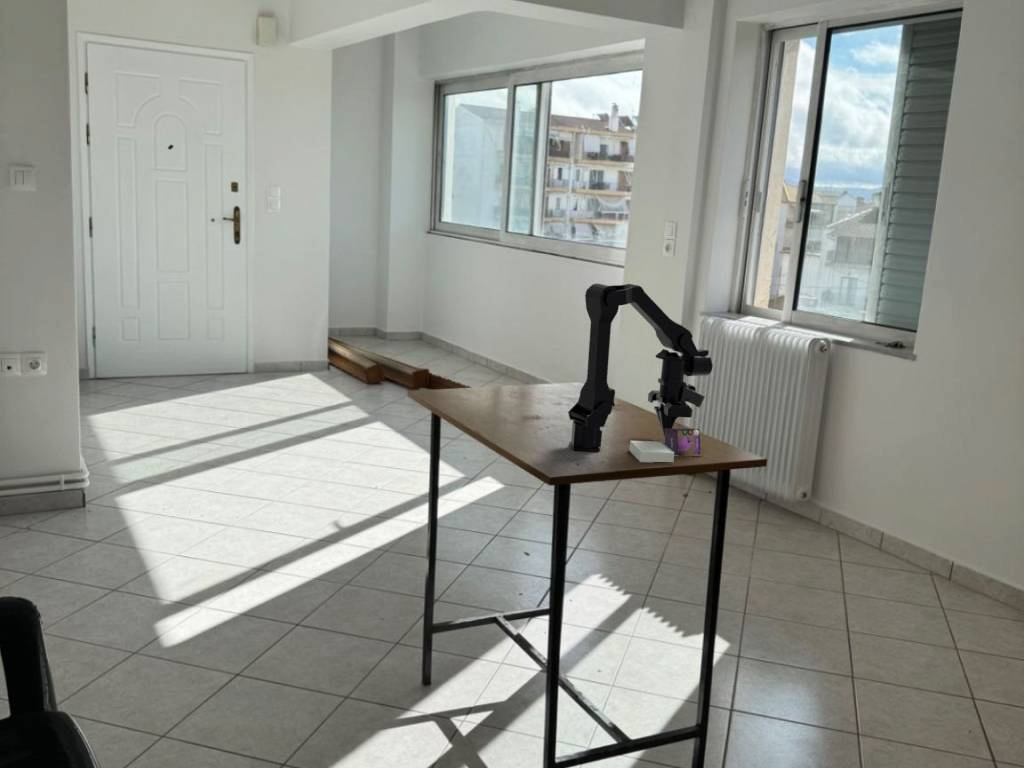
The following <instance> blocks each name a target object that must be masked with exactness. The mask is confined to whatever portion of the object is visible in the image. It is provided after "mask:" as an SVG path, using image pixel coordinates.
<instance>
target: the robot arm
mask: <svg viewBox="0 0 1024 768" xmlns="http://www.w3.org/2000/svg"><path fill="white" fill-rule="evenodd" d="M584 296H585V297H584V298H585V309H586V312H587V314H588V317H589V320H590V329H589V342H588V343H589V344H588V357H587V358H588V360H587V371H586V372H587V373H586V380H585V382H584V384H583V385H582V387H581V389H580V392H579V397H578V400H577V402H576V403H575V404H574V405H573V406H572V407H571V408H570V410H569V411H568V413H567V414H568V418H569V420H570V421H572V426H571V427H572V430H571V440H570V441H569V442H568V443H569V445H570V447H571V448H572V450H573V451H583V452H584V451H585V452H601V449H600V448H601V447H602V437H603V431H602V430H601V428H604V427H605V424H606V423H607V419H608V417H609V415H611V414H612V411H613V407H615V406H616V405H615V398H616V397H615V395H616V389H613V388H612V387H610V386H609V383H608V371H609V359H610V358H609V357H610V347H611V346H610V343H611V342H610V341H611V332H612V331H611V330H612V323H613V321H614V320H615V317H616V316H617V314H618V312H619V308H620V306H624V305H629V304H630V305H631V306H632V307H633V309H635V310H636V312H638V314H639V315H640V316H642V318H643V319H644V320H646V321H645V322H647V323H648V324H649V325H650V326H651V327H652V328H653V329H654V331H655V335H656V337H657V339H658V341H659V342H660V344H661V345H662V347H664V348H663V349H662V350H661V351H660V352H658V353H657V354H656V355H655V358H656V359H659V360H662V364H661V373H660V377H659V378H658V379H657V383H658V384H659V390H651V391H649V392H648V393H647V394H648V395H647V401H648V402H649V403H651V404H653V402H657V403H656V405H657V406H653V409H654V410H655V411H654V412H655V413H656V417H657V420H658V422H659V426H660V429H661V432H662V434H663V437H664V438H665V429H673V428H674V427H673V426H674V424H675V422H676V420H677V419H679V418H692V417H693V409H692V407H691V406H690V405H688V403H690V404H691V405H694V406H695V407H697V408H701V407H702V404H703V402H704V400H705V398H706V396H705V395H703V394H702V393H700V392H698V391H696V386H694V385H692V384H690V383H688V384H687V382H685V381H684V379H685V376H686V377H701V376H703V377H704V376H709V375H710V374H711V372H712V370H713V367H714V366H713V362H712V358H711V356H710V355H709V350H708V349H705V348H700V349H697V347H696V345H695V343H694V341H693V334H692V332H691V331H690V330H689V329H687V328H686V327H684V326H683V325H682V324H679V322H676V321H674V320H673V319H672V318H670V317H669V316H668V315H667V314H666V313H665V311H663V309H662V308H660V306H659V305H658V304H657V303H655V301H654V300H653V299H652V298H651V297H650V296H649V295H648V294H647V293H646V291H645V290H644V288H643V287H642V286H641V285H637V284H633V283H627V284H620V285H619V284H616V285H615V284H614V285H607V284H601V283H592V284H591V285H590V286H589V287H588V288H587V289H586V291H585V294H584ZM666 348H667V349H670V350H672V351H671V352H670V351H669V350H667V349H666ZM686 402H687V403H686Z"/></svg>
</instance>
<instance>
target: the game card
mask: <svg viewBox="0 0 1024 768" xmlns="http://www.w3.org/2000/svg"><path fill="white" fill-rule="evenodd" d="M678 431H681V433H682V435H683V437H679V435H678V433H679V432H678ZM700 432H701V431H700V428H672V429H665V437H664V444H665V445H666V446H667V447H668V448H670V449H671V450H672V451H673V452H674V455H679V452H685V451H688V450H689V449H690V447H692V445H694V444H695V445H694V447H695V451H694V452H693V455H694V454H696V455H698V454H701V433H700ZM687 435H688V436H692V435H693V436H694V442H695V443H694V442H693V441H691V440H692V437H688V436H687Z"/></svg>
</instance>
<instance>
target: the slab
mask: <svg viewBox="0 0 1024 768" xmlns="http://www.w3.org/2000/svg"><path fill="white" fill-rule="evenodd" d="M628 450H629V451H630V453H631V454H632V455H633V456H634V458H636V459H637V460H638V461H639V463H653V462H673V463H674V461H675V460H674V459H675V456H674V452H673V451H672V450H671V449H670V448H668V447H667V446H666V445H665V442H663V441H654V440H653V441H649V440H630V441H629V449H628Z"/></svg>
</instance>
